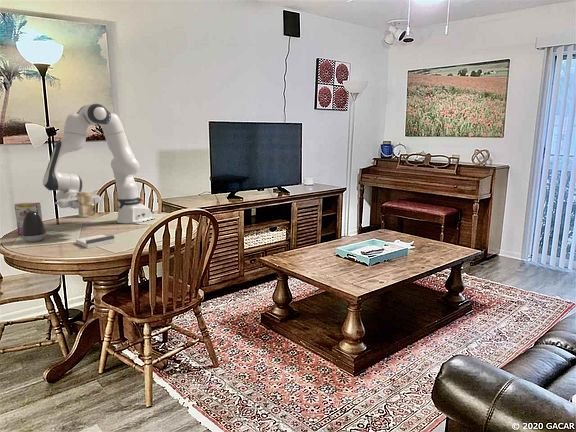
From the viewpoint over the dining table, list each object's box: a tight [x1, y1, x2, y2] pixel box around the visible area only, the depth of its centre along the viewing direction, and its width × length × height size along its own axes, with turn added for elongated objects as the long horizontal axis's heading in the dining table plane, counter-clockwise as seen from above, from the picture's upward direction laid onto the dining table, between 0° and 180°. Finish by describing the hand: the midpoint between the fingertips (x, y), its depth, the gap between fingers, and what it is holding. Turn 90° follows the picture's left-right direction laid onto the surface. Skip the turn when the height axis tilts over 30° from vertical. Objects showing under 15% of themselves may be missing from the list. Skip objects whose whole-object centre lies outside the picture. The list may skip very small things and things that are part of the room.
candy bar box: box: [14, 202, 43, 235], centre depth 230 cm, size 11×5×16 cm, turn 99°
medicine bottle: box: [77, 203, 97, 218], centre depth 274 cm, size 7×7×12 cm
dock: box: [75, 234, 116, 249], centre depth 211 cm, size 13×13×4 cm
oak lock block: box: [77, 191, 93, 218], centre depth 220 cm, size 5×5×12 cm
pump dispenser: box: [21, 211, 46, 243], centre depth 215 cm, size 10×10×15 cm
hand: (85, 203), depth 219 cm, fingers closed on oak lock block, 5 cm apart
